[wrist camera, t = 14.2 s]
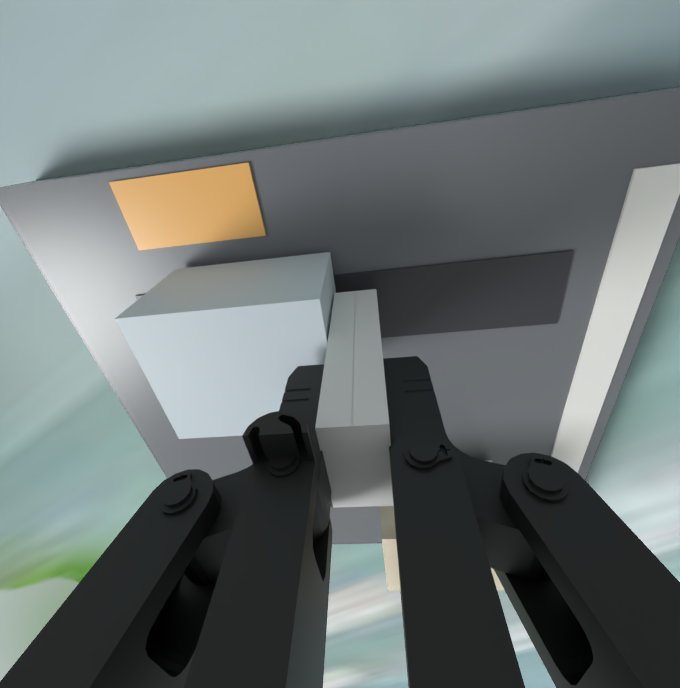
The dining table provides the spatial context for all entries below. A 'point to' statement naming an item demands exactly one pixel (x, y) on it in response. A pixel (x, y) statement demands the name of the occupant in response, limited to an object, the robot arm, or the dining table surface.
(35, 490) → the dining table surface
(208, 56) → the dining table surface
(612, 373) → the switch board
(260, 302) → the pale blue cube
